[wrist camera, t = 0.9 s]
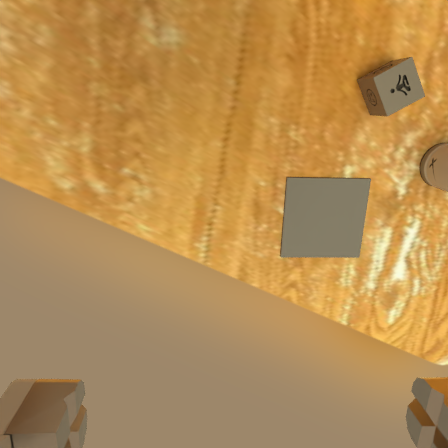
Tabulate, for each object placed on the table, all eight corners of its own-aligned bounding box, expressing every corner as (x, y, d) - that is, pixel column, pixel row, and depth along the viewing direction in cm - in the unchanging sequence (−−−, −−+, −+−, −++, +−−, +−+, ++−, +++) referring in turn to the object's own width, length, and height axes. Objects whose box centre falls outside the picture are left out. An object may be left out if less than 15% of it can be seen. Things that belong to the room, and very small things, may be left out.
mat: (286, 177, 53) (287, 177, 53) (369, 178, 54) (370, 179, 54) (280, 256, 57) (280, 257, 57) (358, 256, 58) (359, 257, 57)
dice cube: (404, 96, 51) (425, 96, 46) (369, 114, 52) (387, 116, 47) (391, 61, 50) (412, 56, 45) (356, 80, 50) (373, 77, 45)
